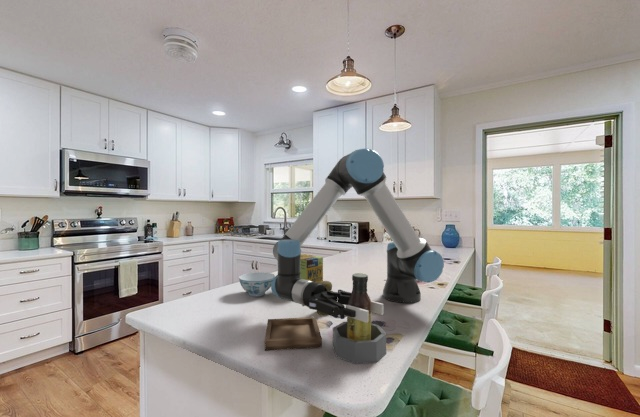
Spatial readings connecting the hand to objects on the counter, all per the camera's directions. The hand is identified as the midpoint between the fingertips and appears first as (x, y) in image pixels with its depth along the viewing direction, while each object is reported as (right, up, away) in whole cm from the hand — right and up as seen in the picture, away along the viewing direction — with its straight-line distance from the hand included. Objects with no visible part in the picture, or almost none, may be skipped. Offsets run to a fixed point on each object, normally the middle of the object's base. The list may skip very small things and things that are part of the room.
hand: (375, 312), depth 73 cm
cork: (-12, -11, +31) cm, 35 cm away
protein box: (-21, -11, +57) cm, 62 cm away
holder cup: (-4, -11, +4) cm, 12 cm away
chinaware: (-41, -11, +52) cm, 67 cm away
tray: (-22, -11, +11) cm, 27 cm away
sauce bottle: (-4, -11, +4) cm, 12 cm away
